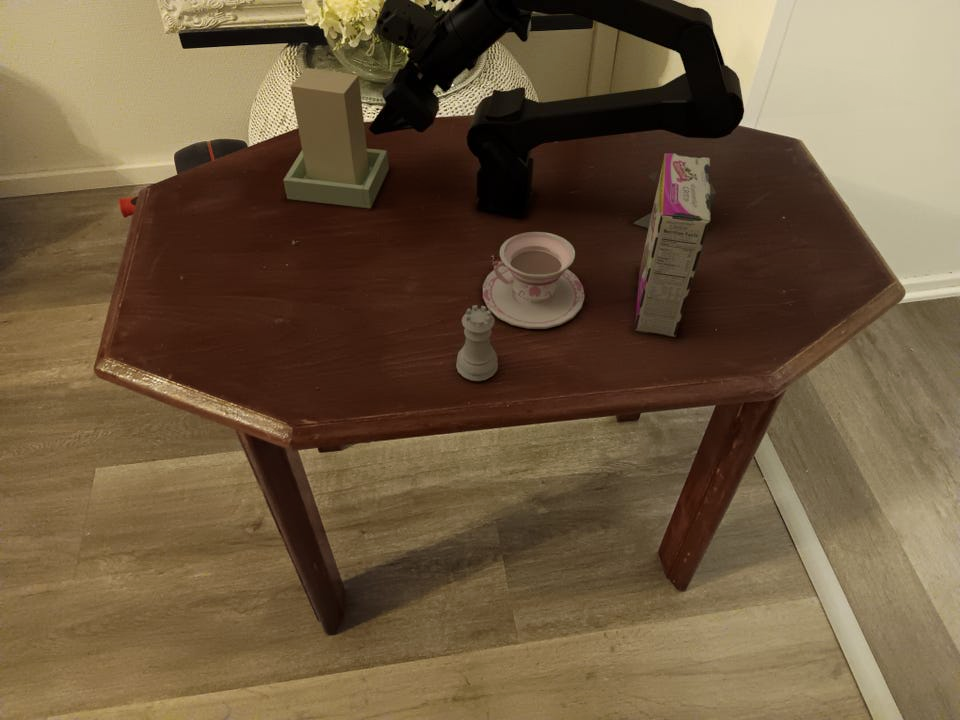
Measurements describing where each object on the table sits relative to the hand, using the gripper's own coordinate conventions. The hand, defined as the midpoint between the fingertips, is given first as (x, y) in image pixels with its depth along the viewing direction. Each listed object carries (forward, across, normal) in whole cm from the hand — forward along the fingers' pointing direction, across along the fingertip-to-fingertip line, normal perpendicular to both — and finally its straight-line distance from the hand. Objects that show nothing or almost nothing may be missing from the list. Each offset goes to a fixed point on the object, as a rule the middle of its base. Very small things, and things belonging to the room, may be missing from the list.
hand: (381, 112), depth 90 cm
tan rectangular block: (+13, 0, +3) cm, 13 cm away
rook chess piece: (-4, +30, +20) cm, 37 cm away
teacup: (-8, +18, +24) cm, 31 cm away
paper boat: (-19, -1, +35) cm, 40 cm away
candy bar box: (-18, +16, +34) cm, 42 cm away
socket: (+13, 0, +3) cm, 13 cm away
